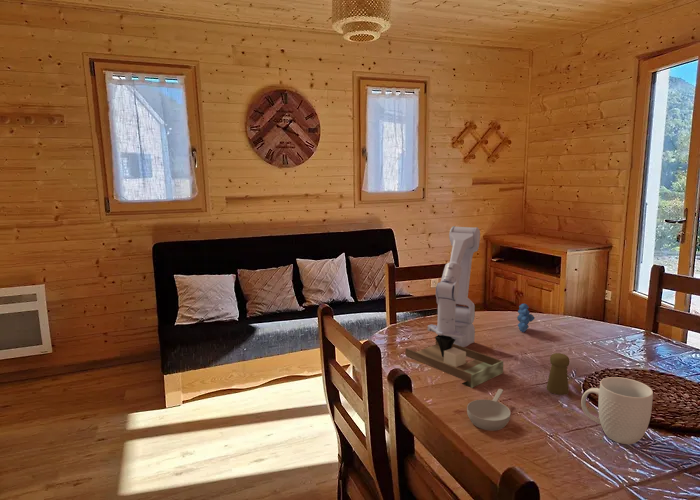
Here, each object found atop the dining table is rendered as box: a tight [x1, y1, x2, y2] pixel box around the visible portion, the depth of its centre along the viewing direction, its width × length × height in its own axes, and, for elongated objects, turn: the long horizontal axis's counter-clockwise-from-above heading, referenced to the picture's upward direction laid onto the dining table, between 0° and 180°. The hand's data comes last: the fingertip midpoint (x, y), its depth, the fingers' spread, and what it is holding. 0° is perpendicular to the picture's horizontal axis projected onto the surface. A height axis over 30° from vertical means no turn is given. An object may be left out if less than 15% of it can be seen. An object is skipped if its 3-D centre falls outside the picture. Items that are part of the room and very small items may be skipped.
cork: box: [546, 352, 570, 396], centre depth 137 cm, size 6×6×11 cm
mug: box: [580, 376, 654, 445], centre depth 114 cm, size 15×11×13 cm
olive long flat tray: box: [405, 339, 504, 389], centre depth 155 cm, size 16×28×4 cm, turn 39°
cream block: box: [444, 347, 467, 367], centre depth 154 cm, size 5×5×4 cm
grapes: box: [516, 303, 536, 333], centre depth 186 cm, size 12×7×12 cm, turn 169°
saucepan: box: [466, 388, 511, 432], centre depth 124 cm, size 11×18×4 cm, turn 148°
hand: (445, 356), depth 157 cm, fingers closed
